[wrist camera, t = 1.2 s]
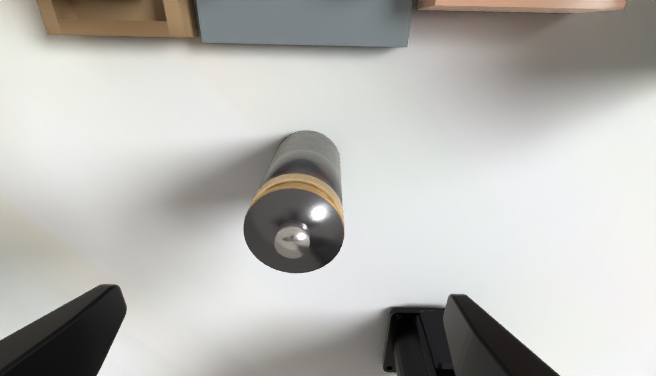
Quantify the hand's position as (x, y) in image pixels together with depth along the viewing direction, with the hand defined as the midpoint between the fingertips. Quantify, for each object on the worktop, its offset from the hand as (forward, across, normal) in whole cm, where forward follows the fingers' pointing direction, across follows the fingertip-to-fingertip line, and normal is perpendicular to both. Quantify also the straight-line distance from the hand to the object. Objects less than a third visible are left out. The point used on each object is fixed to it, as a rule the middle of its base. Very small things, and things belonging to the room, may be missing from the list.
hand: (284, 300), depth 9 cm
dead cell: (+10, 0, 0) cm, 10 cm away
